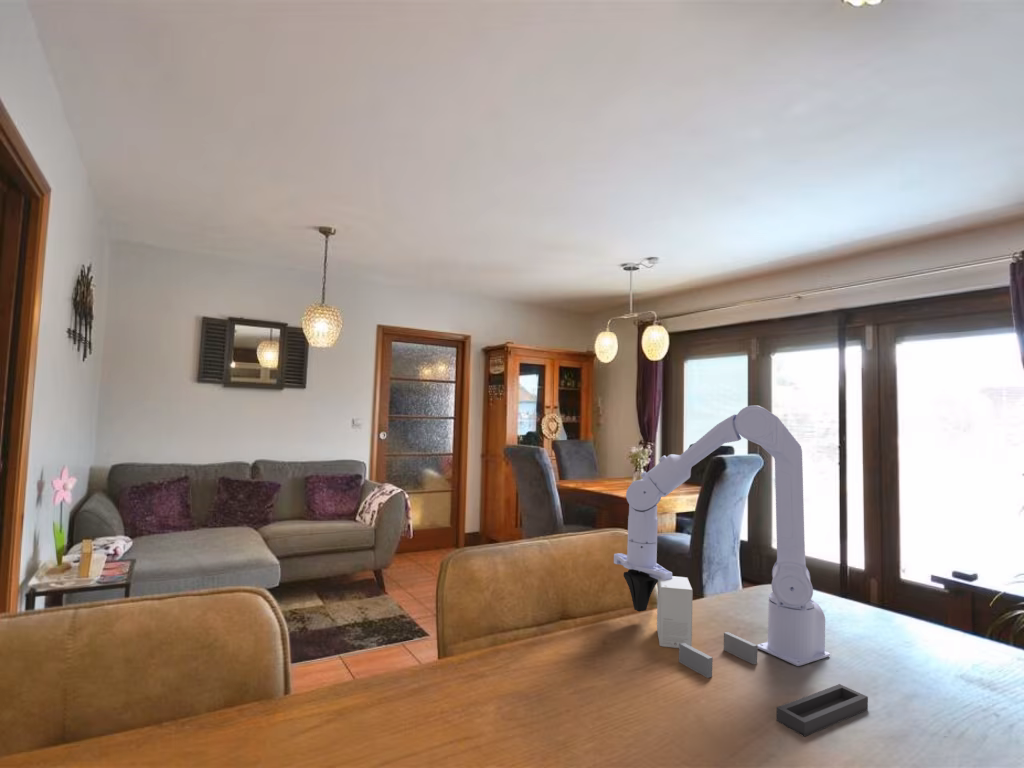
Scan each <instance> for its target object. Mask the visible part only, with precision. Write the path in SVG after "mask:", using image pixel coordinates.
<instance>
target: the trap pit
mask: <svg viewBox="0 0 1024 768" xmlns="http://www.w3.org/2000/svg"><path fill="white" fill-rule="evenodd" d="M868 705H869V696H867V695H866V694H863V693H860V692H858V691H856V690H854V689H852V688H849V687H847V686H845V685H842V684H840V683H839V684H836V685H833V686H831V687H828V688H825V689H823V690H820V691H817V692H815V693H812V694H809V695H807V696H803V697H801V698H797V699H795V700H793V701H790V702H788V703H785V704H782V705H779V706H776V718H775V719H776V722H778V723H779V724H782V725H783V726H785V727H787V728H788V729H790V730H792V731H794V732H795V733H797V734H799V735H800V736H801V737H807V736H809V735H812V734H814V733H816V732H819V731H821V730H823V729H826V728H828V727H831V726H832V725H835V724H837V723H840V722H842V721H844V720H847V719H848V718H849V719H850V718H851V717H854V716H856V715H860V713H861V714H862V713H863V712H866V711H867V710H869V708H868V707H869V706H868Z"/></svg>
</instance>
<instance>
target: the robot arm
mask: <svg viewBox="0 0 1024 768" xmlns="http://www.w3.org/2000/svg"><path fill="white" fill-rule="evenodd" d="M742 438H743V439H745V440H748V441H749V442H751V443H754V444H755V445H759V446H761V448H762V449H764V451H765V452H767V453H768V454H769V455H770V456H771V457H773V459H774V476H775V479H774V481H775V486H774V487H775V521H776V522H775V524H776V525H775V526H776V527H775V528H776V561H775V562H774V564H773V567H772V570H771V576H772V580H771V591H772V592H771V593H769V594H768V609H767V610H768V611H767V612H768V613H767V614H768V619H767V620H768V621H767V641H766V642H762V643H758V644H757V645H758V647H757V649H758V650H761V651H763V652H765V653H768V654H769V655H772V656H774V657H776V658H778V659H780V660H783V661H785V662H787V663H790V664H792V665H793V666H796V667H799V666H803V665H806V664H809V663H812V662H816V661H819V660H822V659H826V658H828V657H830V656H831V653H830V652H828V651H826V616H825V612H824V611H823V609H822V607H821V606H820V605H819V604H818V603H817V602H816V601H814V600H813V599H812V598H813V595H814V587H813V584H812V582H811V574H810V571H809V569H808V567H807V561H806V550H805V549H806V547H805V546H806V545H805V541H806V540H805V515H804V514H805V513H804V511H805V510H804V505H805V504H804V474H803V471H804V470H803V469H804V468H803V467H804V466H803V449H802V446H801V445H800V443H799V442H798V441H797V439H796V438H795V437H794V435H793V434H792V433H791V432H790V431H789V429H788V428H787V427H786V425H785V424H784V423H783V421H782V420H781V419H780V418H779V417H778V416H777V415H776V414H774V413H772V412H771V411H769V410H768V409H767V408H765V407H763V406H761V405H748V406H745V407H744V408H742V409H740V411H738V413H737V414H732V415H730V416H729V417H727V418H725V419H724V420H722V421H720V422H719V423H717V424H715V425H714V426H713V427H712V428H711V429H710V430H708V432H706V433H705V434H704V435H702V436H701V438H699V439H698V440H697V441H695V442H694V443H693V444H691V446H690V447H689V448H687V449H686V450H685V451H684V452H683V453H681V454H674V453H673V454H672V453H671V454H668V455H667V456H666V455H663V456H660V458H659V459H658V461H659V462H658V463H657V464H656V465H655V466H653V467H652V468H650V470H648V471H647V472H646V471H643V472H641V474H640V476H641V477H642V478H641V479H638V480H636V479H635V480H634V481H632V482H631V484H630V485H629V486H628V488H627V489H626V493H625V499H626V501H627V503H628V504H629V506H628V515H627V519H628V520H627V550H626V554H625V553H622V552H620V553H619V552H618V553H614V554H613V564H615V565H621V566H623V568H625V569H627V571H624V572H623V578H624V579H625V582H626V583H627V587H628V589H629V591H630V597H631V600H632V604H633V606H632V607H633V609H634V610H635V611H636V612H639V613H640V612H644V611H647V609H648V605H649V601H650V599H651V595H652V593H653V590H654V588H655V587H656V585H658V580H659V577H661V579H662V580H668V579H672V576H673V572H672V571H670V570H668V569H666V568H665V567H663V566H662V565H660V564H659V563H657V560H658V559H657V557H658V553H657V551H658V527H659V526H658V524H659V523H658V504H659V503H660V501H661V499H662V498H665V497H666V496H668V495H670V493H672V492H673V491H675V490H676V489H677V488H678V487H679V486H681V485H683V484H684V483H685V482H687V481H688V480H689V479H690V478H691V475H692V467H694V466H695V465H697V464H698V463H700V461H702V460H704V459H705V458H707V456H709V455H710V454H711V453H713V452H715V451H716V450H717V449H719V448H721V446H723V445H724V444H729V443H734V442H738V441H741V440H742Z"/></svg>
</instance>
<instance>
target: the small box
mask: <svg viewBox="0 0 1024 768" xmlns="http://www.w3.org/2000/svg"><path fill="white" fill-rule="evenodd" d="M693 591H694V590H693V588H692V585H691V583H690V581H689V577H685V576H677V575H676V576H674V575H672V579H668V580H662V579H661V577H659V580H658V582H657V603H656V604H657V606H656V607H657V608H656V609H657V611H656V614H657V615H656V630H657V632H656V633H657V636H658V638H657V639H658V644H659V646H660V647H664V648H674V649H679V644H680V643H685V644H687V645H689V646H691V647H693V646H692V643H693V597H694V595H693V594H694V593H693Z"/></svg>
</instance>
